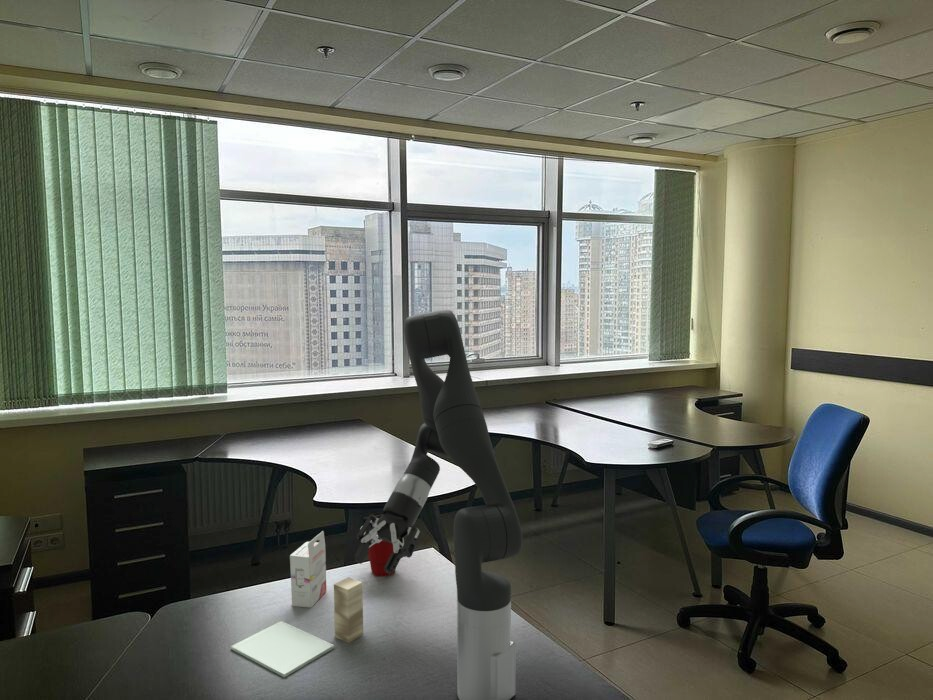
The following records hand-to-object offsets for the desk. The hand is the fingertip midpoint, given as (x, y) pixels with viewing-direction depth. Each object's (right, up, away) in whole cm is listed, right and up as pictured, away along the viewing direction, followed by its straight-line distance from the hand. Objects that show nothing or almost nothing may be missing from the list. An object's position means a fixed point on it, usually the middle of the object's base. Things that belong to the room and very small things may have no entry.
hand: (372, 566), depth 136 cm
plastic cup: (-1, -10, +25) cm, 27 cm away
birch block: (-4, -12, -4) cm, 14 cm away
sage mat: (-16, -13, -9) cm, 23 cm away
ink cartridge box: (-16, -11, +11) cm, 23 cm away
